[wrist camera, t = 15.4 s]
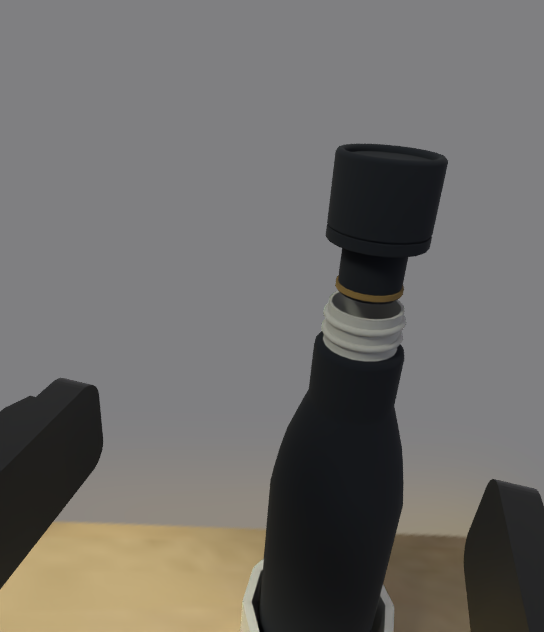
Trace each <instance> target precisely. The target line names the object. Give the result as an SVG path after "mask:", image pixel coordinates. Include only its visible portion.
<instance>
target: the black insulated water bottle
mask: <svg viewBox="0 0 544 632" xmlns="http://www.w3.org/2000/svg"><path fill="white" fill-rule="evenodd" d="M447 164H448V160H447V159H446V158H445V156H443V155H441V154H438V153H435V152H430V151H426V150H421V149H416V148H408V147H401V146H391V145H380V144H347V145H342V146H339V147H338V148H337V150H336V153H335V162H334V170H333V179H332V187H331V196H330V204H329V213H328V222H327V223H328V224H327V229H326V237H327V238H328V240H329V241H330V242H332V243H333V244H335V245H337V246H339V247H341V248H342V254H341V262H340V269H339V275H338V276H337V278H336V285H335V286H336V287H337V289H338V290H339V291H337V292H335V293H333V294H332V295H331V296H330V298H329V303H328V304H327V305H325V307H324V311H323V314H324V316H325V318H326V319H325V320H324V321H323V322H322V327H321V329H322V331H321V332H320V333H319V335H317V336H316V339H315V343H314V350H313V359H312V367H311V376H310V384H309V390H308V391H307V393H306V395H305V397H304V398H303V400H302V402H301V404H300V406H299V407H298V409H297V411H296V413H295V415H294V417H293V418H292V420H291V422H290V424H289V426H288V427H287V431H286V433H285V436H284V438H283V441H282V443H281V446H280V449H279V453H278V456H277V459H276V462H275V466H274V469H273V473H272V477H271V483H270V494H269V506H268V516H267V517H268V518H267V528H266V540H265V551H264V563H263V574H262V586H261V597H260V609H259V620H258V628H259V632H371V629H372V626H373V622H374V618H375V614H376V610H377V606H378V602H379V598H380V594H381V590H382V586H383V582H384V578H385V574H386V570H387V566H388V562H389V558H390V554H391V550H392V546H393V542H394V538H395V534H396V530H397V526H398V522H399V518H400V514H401V510H402V506H403V459H402V446H401V441H400V435H399V430H398V424H397V419H396V413H395V408H394V404H395V399H396V394H397V390H398V384H399V380H400V376H401V371H402V366H403V362H404V350H403V347H402V346H401V345H400V343H401V342H402V340H403V336H402V330H403V328H404V327H405V325H406V319H405V316H404V306H403V305H402V304H401V303H400V301H398V299H399V298H400V297H401V296H402V295H403V290H404V288H403V280H404V275H405V270H406V265H407V260H408V257H411V256H417V255H420V254H423V253H425V252H426V251H427V250H428V249H429V247H430V243H431V238H432V237H431V236H432V234H433V229H434V224H435V220H436V215H437V210H438V206H439V201H440V197H441V192H442V188H443V183H444V178H445V174H446V169H447Z"/></svg>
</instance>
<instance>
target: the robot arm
mask: <svg viewBox="0 0 544 632" xmlns="http://www.w3.org/2000/svg"><path fill="white" fill-rule="evenodd" d="M102 447H103V433H102V423H101V412H100V402H99V393H98V390H97V388H96V387H95V386H94V385H90V384H86V383H82V382H77V381H73V380H69V379H64V378H59V379H57V380H55V381H54V382H52V383H51V384H50V385H49V386H48V387H47V388H46V389H45V390H43V391H42V392H41V393H40V394H39V395H38V396H37V397H33V396H29V397H27V398H25V399H23V400H21V401H18V402H16V403H14V404H12V405H10V406H8V407H6V408H4V409H3V410H2V411H1V412H0V589H1V588H2V586H3V585H4V584H5V583H6V581H7V580H8V579H9V577H10V576H11V575H12V574H13V572H14V571H15V570H16V568H17V567H18V566H19V565H20V563H21V562H22V561H23V560H24V558H25V557H26V556H27V554H28V553H29V552H30V551H31V549H32V548H33V547H34V545H35V544H36V543H37V542H38V540H39V539H40V538H41V536H42V535H43V534H44V533H45V531H46V530H47V529H48V527H49V526H50V525H51V524H52V522H53V521H54V520H55V519H56V517H57V516H58V515H59V513H60V512H61V511H62V509H63V508H64V507H65V506H66V504H67V503H68V502H69V501H70V499H71V498H72V497H73V495H74V494H75V493H76V492H77V490H78V489H79V488H80V486H81V485H82V484H83V483H84V481H85V480H86V479H87V477H88V476H89V475H90V473H91V472H92V471H93V470H94V468H95V467H96V465H97V463H98V461H99V458H100V455H101V452H102ZM464 573H465V582H466V591H467V600H468V609H469V618H470V627H471V632H544V506H543V503H542V499H541V496H540V494H539V492H538V491H537V490H536V489H534V488H529V487H525V486H521V485H516V484H512V483H508V482H503V481H499V480H494V479H492V480H490V482H489V483H488V485H487V487H486V490H485V492H484V494H483V497H482V500H481V502H480V505H479V507H478V510H477V512H476V515H475V517H474V520H473V522H472V525H471V528H470V530H469V532H468V535H467V539H466V544H465V551H464Z"/></svg>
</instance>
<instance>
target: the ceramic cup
mask: <svg viewBox="0 0 544 632" xmlns="http://www.w3.org/2000/svg"><path fill="white" fill-rule="evenodd" d="M263 563H264V559H262V560H261V561H260V562H259V563H258V564H257V565H255V566H254V568H253V570H252V573H251V576H250V579H249V582H248V586H247V589H246V592H245V595H244V598H243V603H242V616H241V629H240V632H259V628H258V620H259V609H260V597H261V586H262V574H263ZM371 632H394V605H393V603H392V601H391V599H390V597H389V595H388V593H387V591H386V589H385V587H384V585H383V586H382V590H381V594H380V598H379V602H378V606H377V610H376V614H375V618H374V622H373V626H372V629H371Z"/></svg>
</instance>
